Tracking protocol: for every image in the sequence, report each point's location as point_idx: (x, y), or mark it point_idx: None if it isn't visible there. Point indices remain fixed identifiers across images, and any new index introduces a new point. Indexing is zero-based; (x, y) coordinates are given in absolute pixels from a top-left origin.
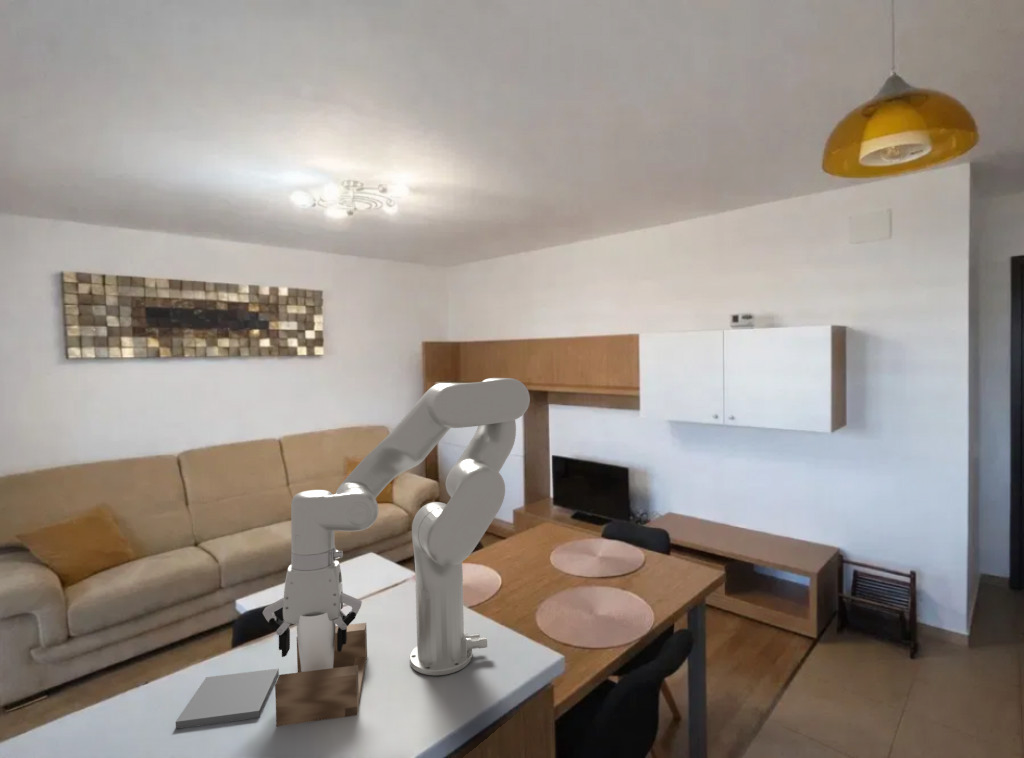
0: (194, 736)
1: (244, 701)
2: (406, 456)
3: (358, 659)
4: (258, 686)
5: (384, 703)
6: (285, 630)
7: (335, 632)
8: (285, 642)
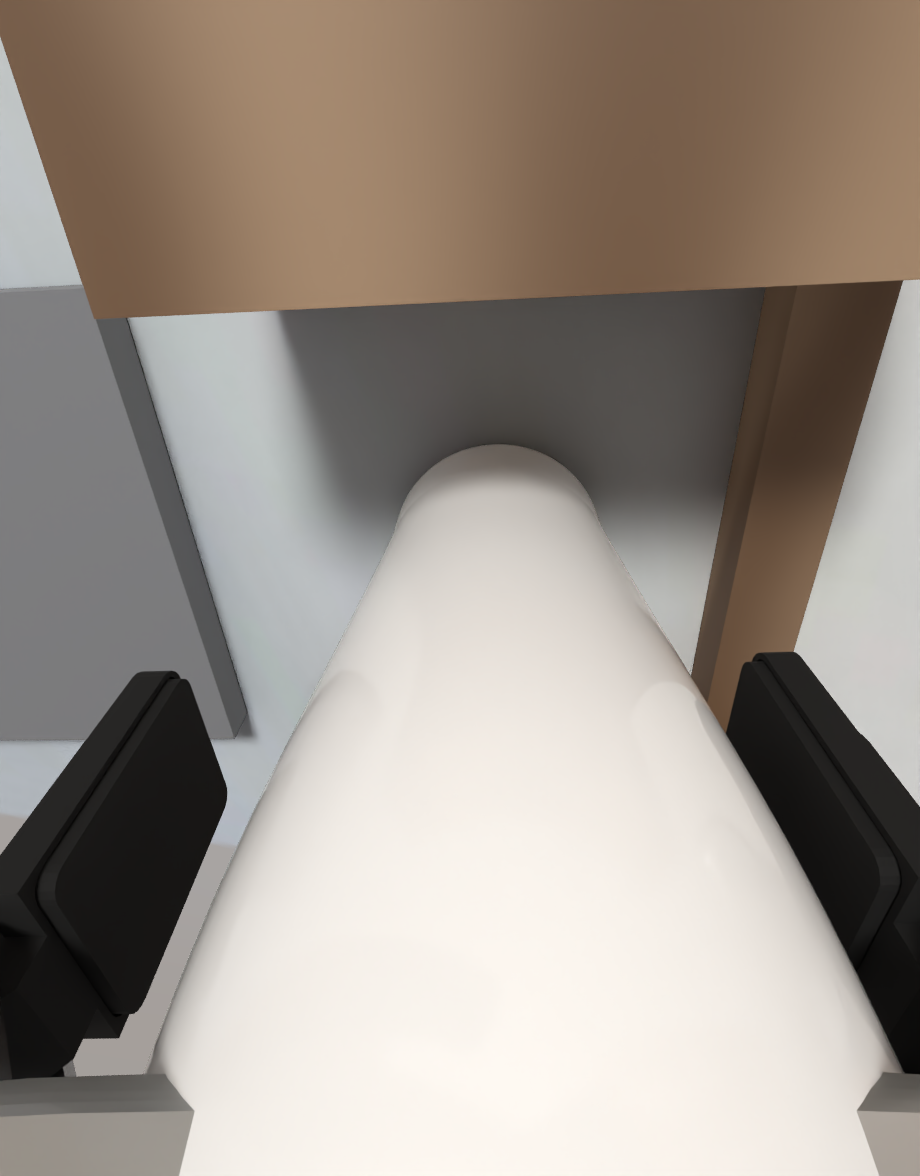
0: (21, 767)
1: (98, 658)
2: None
3: (830, 290)
4: (82, 525)
5: (883, 722)
6: (70, 1055)
7: (692, 272)
8: (166, 928)
